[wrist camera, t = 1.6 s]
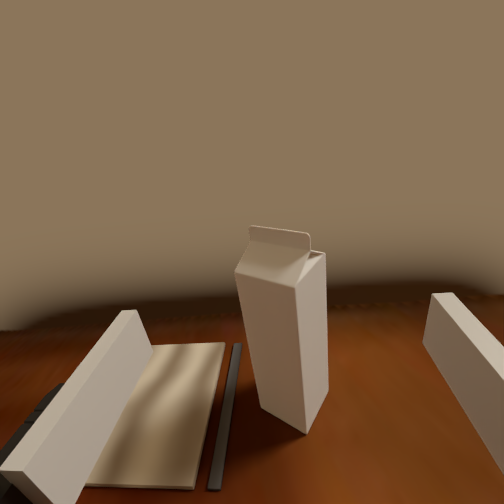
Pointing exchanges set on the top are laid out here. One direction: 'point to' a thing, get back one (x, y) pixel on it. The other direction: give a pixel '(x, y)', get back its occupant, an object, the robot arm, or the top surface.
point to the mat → (170, 421)
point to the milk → (285, 322)
